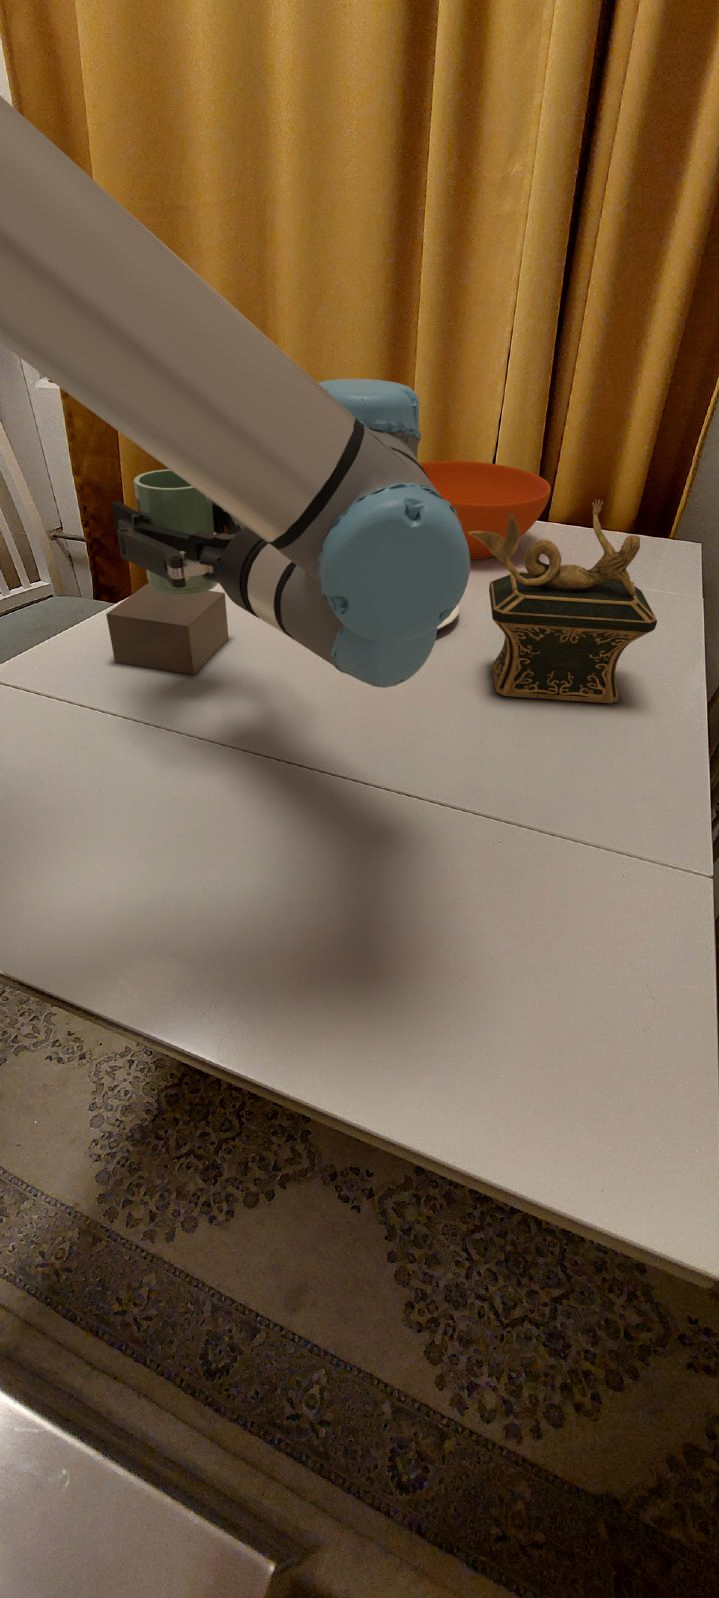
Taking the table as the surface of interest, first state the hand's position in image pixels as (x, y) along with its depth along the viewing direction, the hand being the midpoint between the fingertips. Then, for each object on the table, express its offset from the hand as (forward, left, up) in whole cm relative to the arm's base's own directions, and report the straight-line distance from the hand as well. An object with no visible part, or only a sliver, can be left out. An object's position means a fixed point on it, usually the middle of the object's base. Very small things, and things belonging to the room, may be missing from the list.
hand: (153, 509), depth 77 cm
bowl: (+25, +54, -18) cm, 62 cm away
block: (-2, +4, -18) cm, 19 cm away
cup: (+4, -3, -6) cm, 8 cm away
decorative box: (+41, +10, -18) cm, 46 cm away
